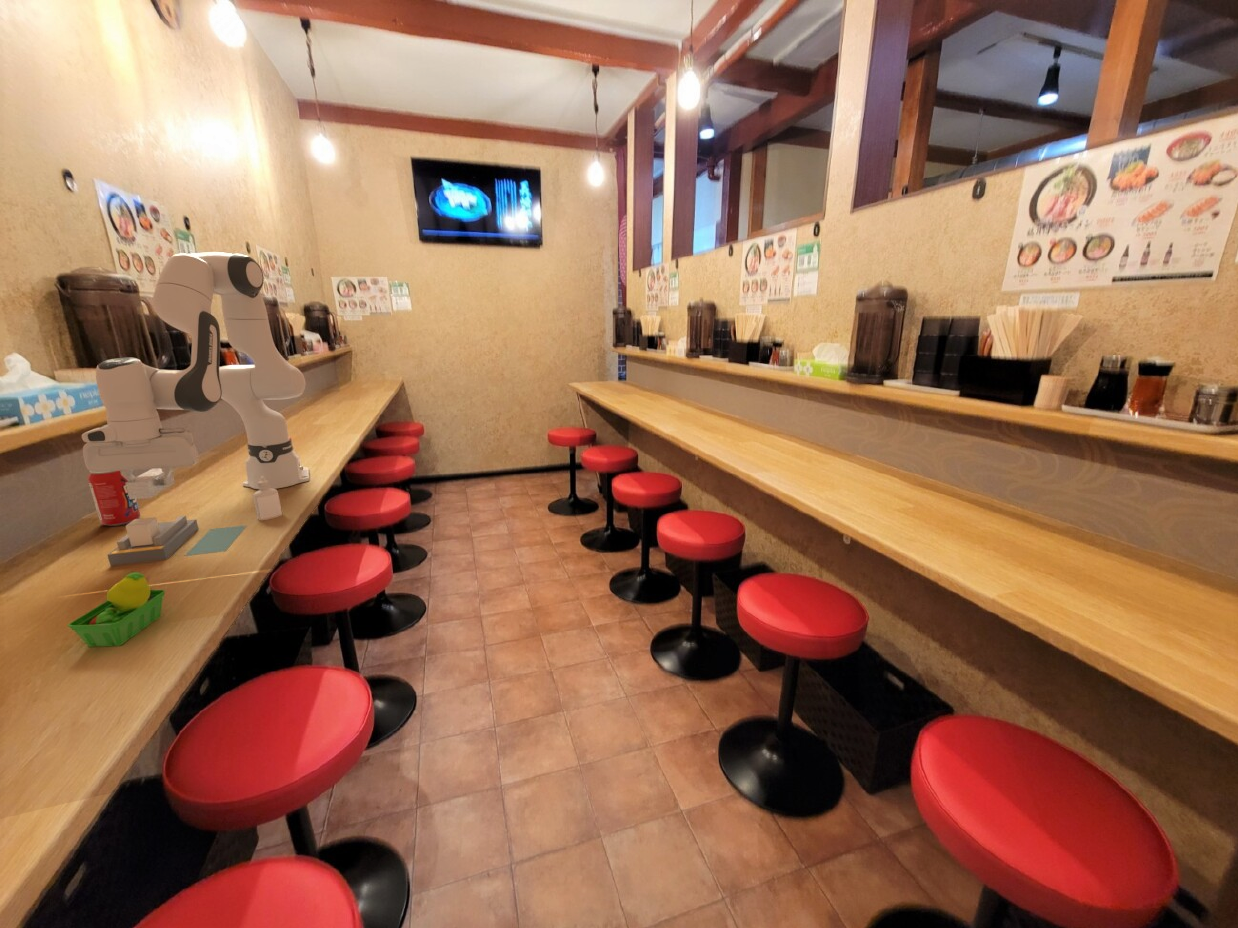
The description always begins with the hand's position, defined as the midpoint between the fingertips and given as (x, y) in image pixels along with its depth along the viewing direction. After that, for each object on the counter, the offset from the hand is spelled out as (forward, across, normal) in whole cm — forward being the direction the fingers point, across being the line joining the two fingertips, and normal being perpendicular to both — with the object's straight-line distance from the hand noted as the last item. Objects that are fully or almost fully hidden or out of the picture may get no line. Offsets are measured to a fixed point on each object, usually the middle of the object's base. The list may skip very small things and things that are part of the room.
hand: (151, 485), depth 120 cm
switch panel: (+14, 0, +4) cm, 15 cm away
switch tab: (+11, 0, +8) cm, 14 cm away
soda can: (+15, +16, -17) cm, 28 cm away
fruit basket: (+14, -11, +43) cm, 46 cm away
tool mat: (+14, -12, +4) cm, 19 cm away
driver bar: (+1, 0, 0) cm, 1 cm away
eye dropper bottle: (+15, -20, -9) cm, 27 cm away
